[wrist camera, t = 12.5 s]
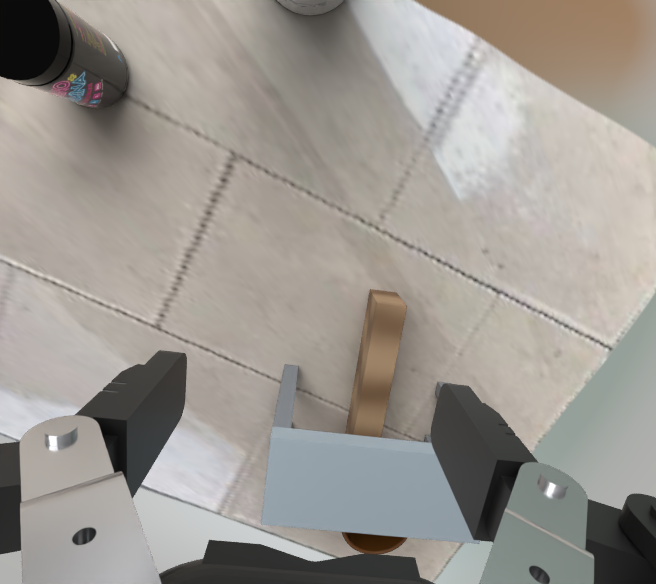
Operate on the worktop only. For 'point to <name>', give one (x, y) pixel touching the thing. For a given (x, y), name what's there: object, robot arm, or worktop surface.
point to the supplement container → (59, 53)
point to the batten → (376, 363)
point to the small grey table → (356, 481)
